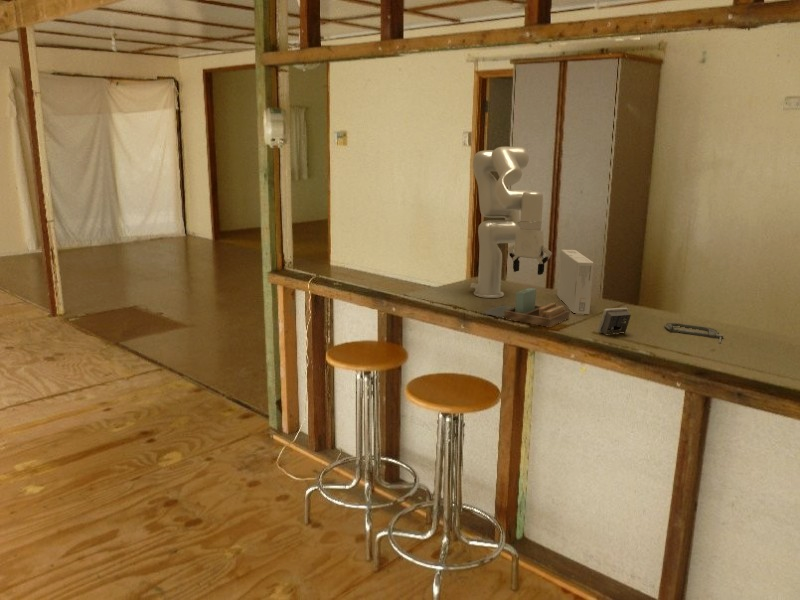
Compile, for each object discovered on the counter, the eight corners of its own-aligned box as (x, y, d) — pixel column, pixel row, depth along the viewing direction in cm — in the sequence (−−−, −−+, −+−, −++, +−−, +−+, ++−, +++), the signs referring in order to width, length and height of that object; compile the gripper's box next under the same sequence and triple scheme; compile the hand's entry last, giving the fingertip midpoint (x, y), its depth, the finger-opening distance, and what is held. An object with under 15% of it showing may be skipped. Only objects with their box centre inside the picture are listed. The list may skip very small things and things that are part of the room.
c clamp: (728, 333, 235) (729, 326, 235) (720, 345, 221) (721, 337, 221) (667, 324, 246) (668, 317, 245) (657, 335, 232) (658, 327, 231)
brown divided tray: (503, 318, 246) (504, 311, 246) (524, 310, 259) (525, 303, 258) (549, 327, 236) (550, 319, 235) (569, 318, 248) (569, 310, 248)
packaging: (589, 314, 255) (594, 262, 251) (573, 314, 255) (577, 262, 251) (571, 296, 285) (575, 249, 280) (557, 296, 285) (560, 249, 280)
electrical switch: (620, 330, 234) (624, 305, 231) (629, 336, 230) (633, 310, 227) (597, 332, 232) (601, 307, 228) (605, 338, 227) (609, 312, 224)
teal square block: (514, 318, 247) (516, 292, 245) (527, 313, 255) (528, 287, 253) (522, 320, 246) (523, 293, 243) (534, 314, 253) (536, 289, 251)
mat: (481, 314, 252) (481, 312, 252) (501, 306, 265) (501, 305, 265) (502, 318, 247) (502, 316, 247) (522, 310, 259) (522, 308, 259)
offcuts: (537, 323, 241) (538, 308, 240) (551, 317, 250) (552, 302, 249) (548, 325, 238) (550, 310, 237) (563, 319, 248) (564, 304, 246)
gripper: (504, 225, 244) (502, 271, 248) (548, 228, 234) (545, 277, 238) (514, 223, 250) (511, 268, 254) (557, 227, 240) (554, 274, 244)
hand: (528, 272), depth 246 cm, fingers open, 9 cm apart
